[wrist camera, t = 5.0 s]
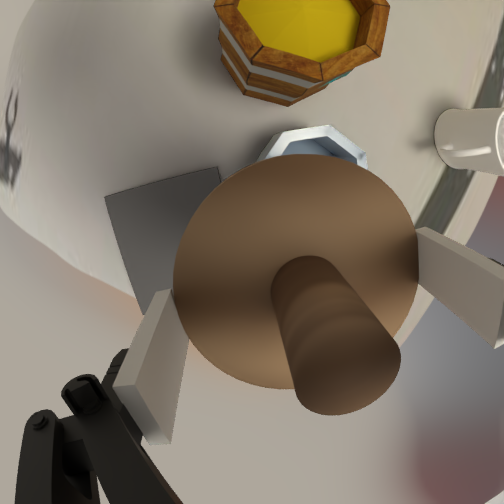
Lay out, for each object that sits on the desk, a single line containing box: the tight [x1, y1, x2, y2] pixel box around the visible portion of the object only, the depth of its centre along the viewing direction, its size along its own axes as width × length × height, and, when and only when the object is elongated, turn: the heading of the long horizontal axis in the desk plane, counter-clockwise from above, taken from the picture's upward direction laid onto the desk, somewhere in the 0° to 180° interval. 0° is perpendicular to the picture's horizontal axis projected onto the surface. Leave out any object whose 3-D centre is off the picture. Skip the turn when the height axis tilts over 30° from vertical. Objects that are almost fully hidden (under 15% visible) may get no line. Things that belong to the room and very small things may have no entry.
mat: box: [104, 167, 221, 315], centre depth 38 cm, size 16×14×1 cm
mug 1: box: [214, 0, 390, 107], centre depth 24 cm, size 20×14×15 cm
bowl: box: [255, 125, 368, 170], centre depth 32 cm, size 10×10×8 cm
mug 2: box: [434, 108, 504, 176], centre depth 30 cm, size 12×8×12 cm
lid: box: [173, 154, 419, 415], centre depth 12 cm, size 12×12×7 cm
